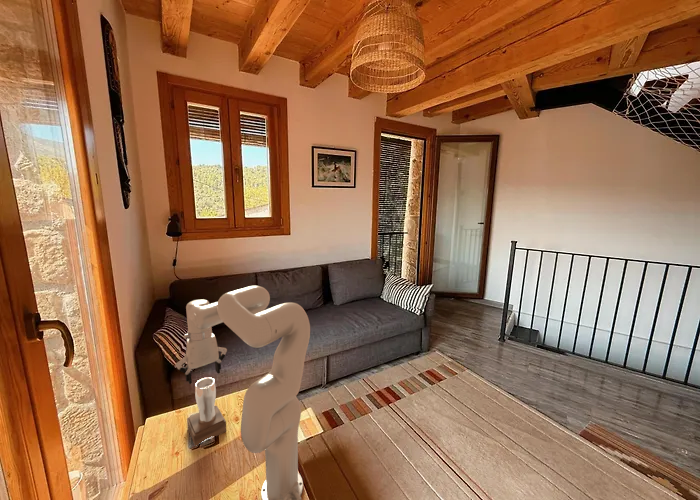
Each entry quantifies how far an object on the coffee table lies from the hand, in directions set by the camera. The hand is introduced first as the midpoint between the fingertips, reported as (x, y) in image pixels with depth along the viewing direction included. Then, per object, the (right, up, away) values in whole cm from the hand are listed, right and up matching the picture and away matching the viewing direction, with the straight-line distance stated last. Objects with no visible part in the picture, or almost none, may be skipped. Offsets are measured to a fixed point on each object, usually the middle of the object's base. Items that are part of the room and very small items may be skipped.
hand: (204, 376), depth 106 cm
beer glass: (-1, -18, +3) cm, 18 cm away
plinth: (-1, -22, +4) cm, 23 cm away
